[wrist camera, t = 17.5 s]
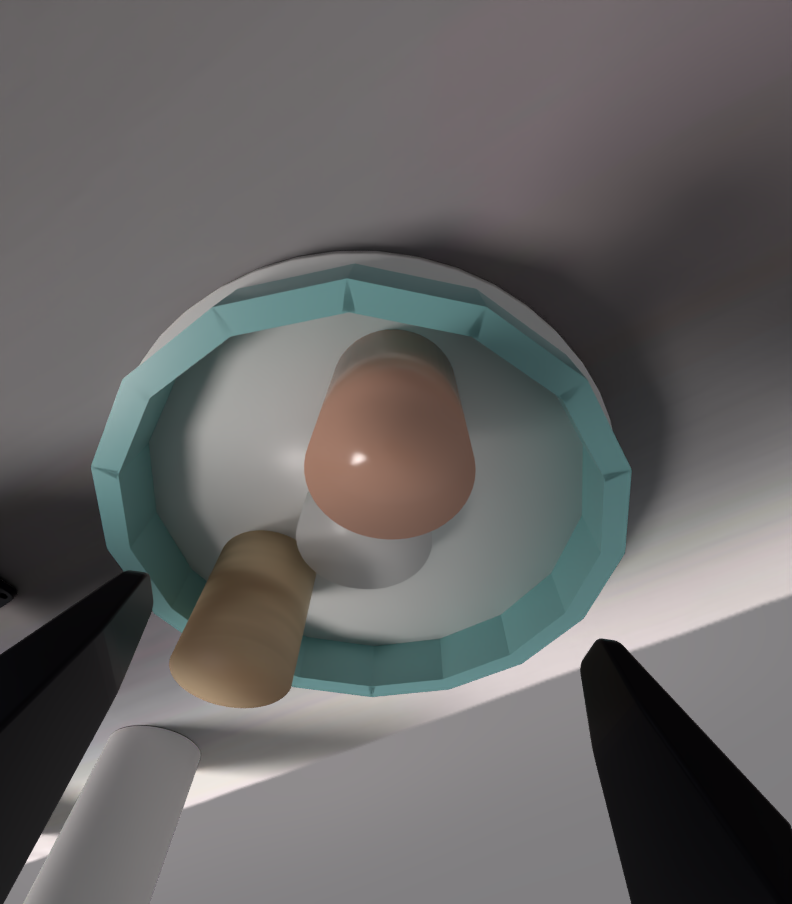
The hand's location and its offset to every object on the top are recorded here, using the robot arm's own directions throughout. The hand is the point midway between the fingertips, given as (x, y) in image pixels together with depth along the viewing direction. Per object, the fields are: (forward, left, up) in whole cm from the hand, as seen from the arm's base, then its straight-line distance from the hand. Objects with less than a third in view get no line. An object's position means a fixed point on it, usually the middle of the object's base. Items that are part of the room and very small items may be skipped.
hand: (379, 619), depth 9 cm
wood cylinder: (-11, -5, -11) cm, 16 cm away
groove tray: (-5, -5, -12) cm, 14 cm away
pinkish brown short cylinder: (0, 0, -11) cm, 11 cm away
